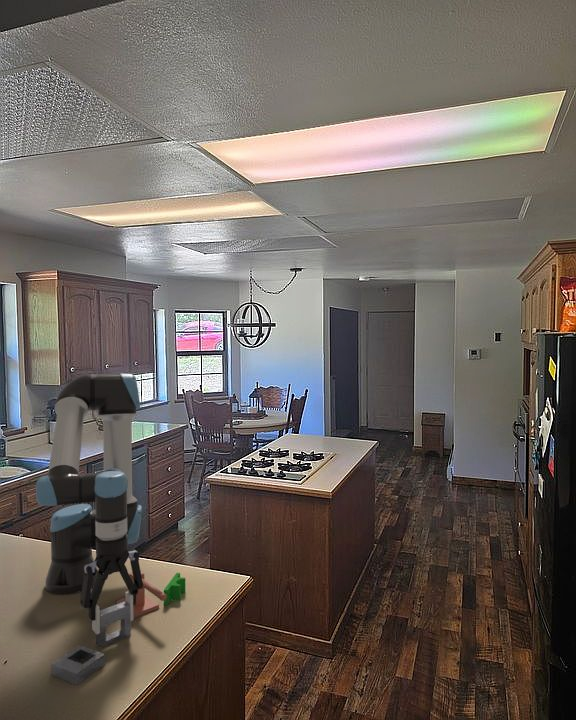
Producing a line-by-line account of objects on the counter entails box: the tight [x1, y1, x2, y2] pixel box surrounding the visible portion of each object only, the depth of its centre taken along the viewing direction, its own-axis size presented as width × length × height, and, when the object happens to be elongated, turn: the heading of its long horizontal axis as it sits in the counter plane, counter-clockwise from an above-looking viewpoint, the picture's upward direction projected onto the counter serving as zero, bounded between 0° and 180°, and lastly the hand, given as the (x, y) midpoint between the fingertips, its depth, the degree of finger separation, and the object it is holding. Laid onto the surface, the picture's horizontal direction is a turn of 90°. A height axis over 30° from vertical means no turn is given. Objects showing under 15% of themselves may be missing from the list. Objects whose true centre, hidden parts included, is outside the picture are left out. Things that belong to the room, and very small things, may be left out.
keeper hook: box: [115, 570, 167, 619], centre depth 142 cm, size 20×8×10 cm, turn 43°
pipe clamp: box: [163, 572, 186, 606], centre depth 152 cm, size 11×4×5 cm, turn 173°
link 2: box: [94, 601, 132, 649], centre depth 130 cm, size 2×8×8 cm, turn 133°
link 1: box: [50, 644, 106, 686], centre depth 118 cm, size 8×8×2 cm
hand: (113, 624), depth 130 cm, fingers closed on link 2, 8 cm apart
